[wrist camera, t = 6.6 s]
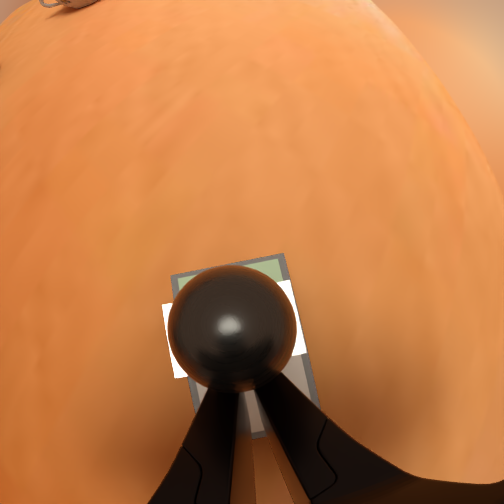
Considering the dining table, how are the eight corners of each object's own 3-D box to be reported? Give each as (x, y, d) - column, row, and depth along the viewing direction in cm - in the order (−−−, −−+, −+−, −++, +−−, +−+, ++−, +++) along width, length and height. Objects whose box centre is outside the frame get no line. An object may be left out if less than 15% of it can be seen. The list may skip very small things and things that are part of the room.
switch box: (312, 412, 16) (324, 423, 13) (211, 433, 16) (202, 447, 13) (278, 269, 19) (283, 251, 16) (182, 288, 19) (169, 274, 16)
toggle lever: (277, 361, 14) (329, 381, 5) (217, 373, 13) (160, 414, 4) (265, 307, 14) (293, 232, 5) (206, 319, 14) (135, 264, 5)
